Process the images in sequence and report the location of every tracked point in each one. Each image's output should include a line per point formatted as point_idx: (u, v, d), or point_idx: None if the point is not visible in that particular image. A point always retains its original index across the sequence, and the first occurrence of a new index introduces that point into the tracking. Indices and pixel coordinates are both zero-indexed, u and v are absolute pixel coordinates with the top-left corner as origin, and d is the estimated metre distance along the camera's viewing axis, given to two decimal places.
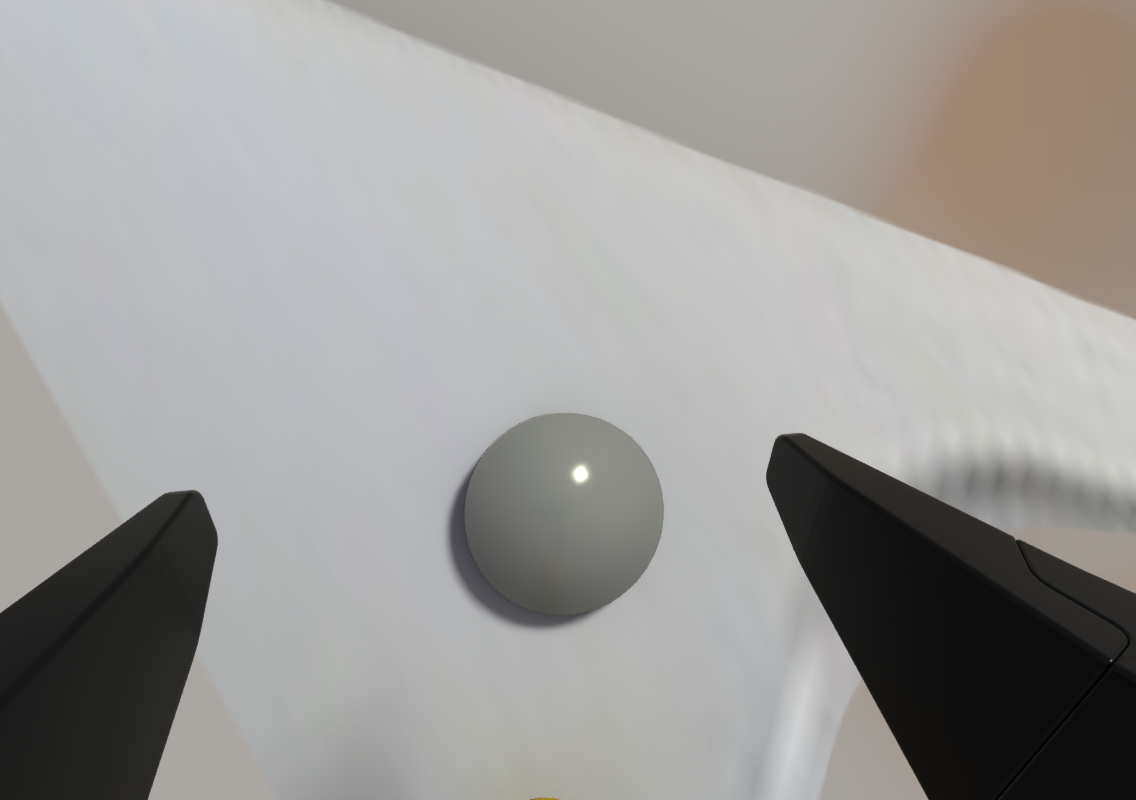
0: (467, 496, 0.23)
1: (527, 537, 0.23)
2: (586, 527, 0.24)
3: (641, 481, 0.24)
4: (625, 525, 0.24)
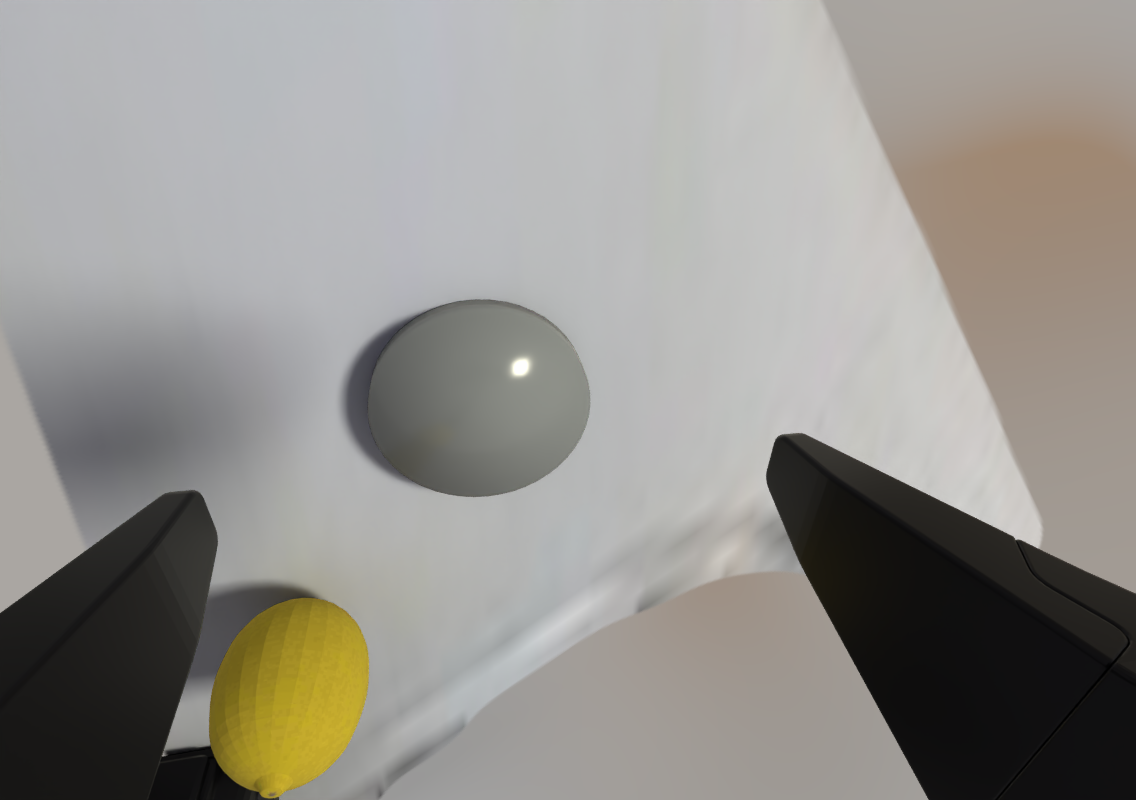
0: (393, 349, 0.20)
1: (432, 413, 0.21)
2: (493, 432, 0.22)
3: (569, 420, 0.23)
4: (530, 447, 0.23)
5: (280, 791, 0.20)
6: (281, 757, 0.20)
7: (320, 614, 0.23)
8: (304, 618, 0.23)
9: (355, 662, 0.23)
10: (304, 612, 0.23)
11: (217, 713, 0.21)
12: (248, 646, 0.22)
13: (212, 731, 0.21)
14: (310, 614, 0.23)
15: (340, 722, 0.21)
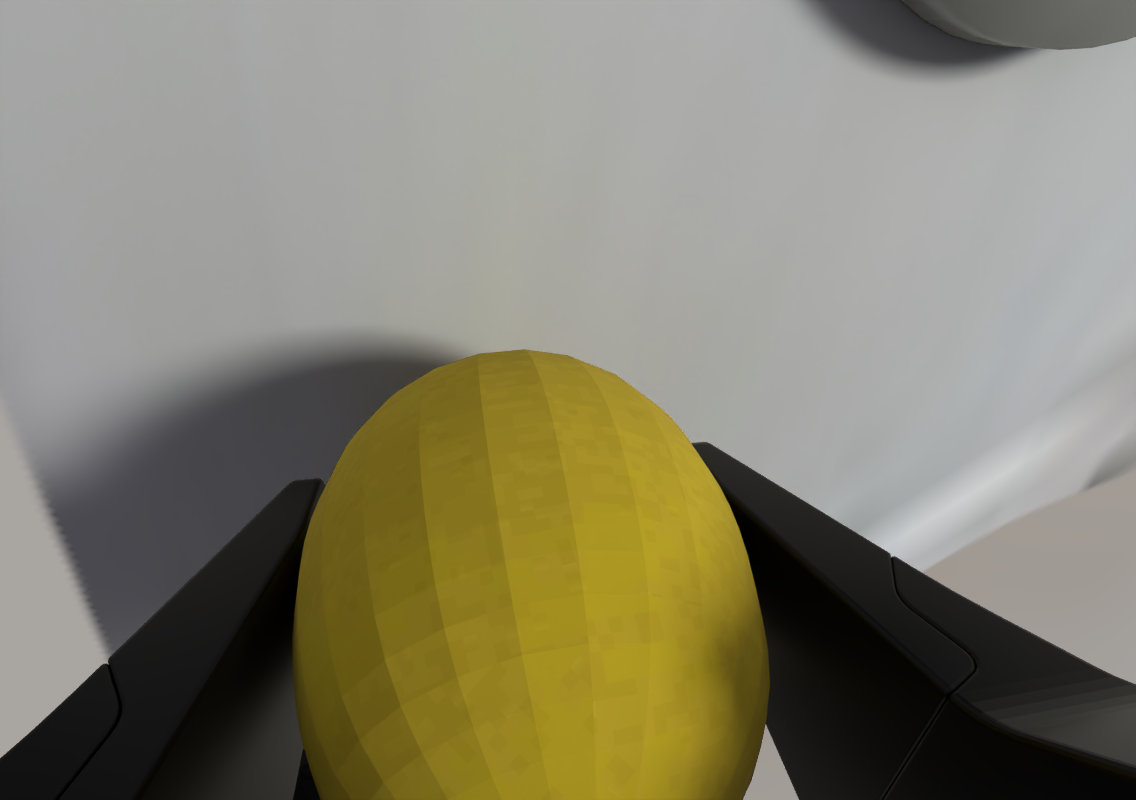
0: None
1: None
2: None
3: None
4: None
5: None
6: None
7: (602, 371, 0.08)
8: (571, 367, 0.07)
9: None
10: (561, 359, 0.08)
11: (343, 638, 0.05)
12: (422, 420, 0.06)
13: (318, 708, 0.05)
14: (580, 364, 0.08)
15: (766, 679, 0.06)
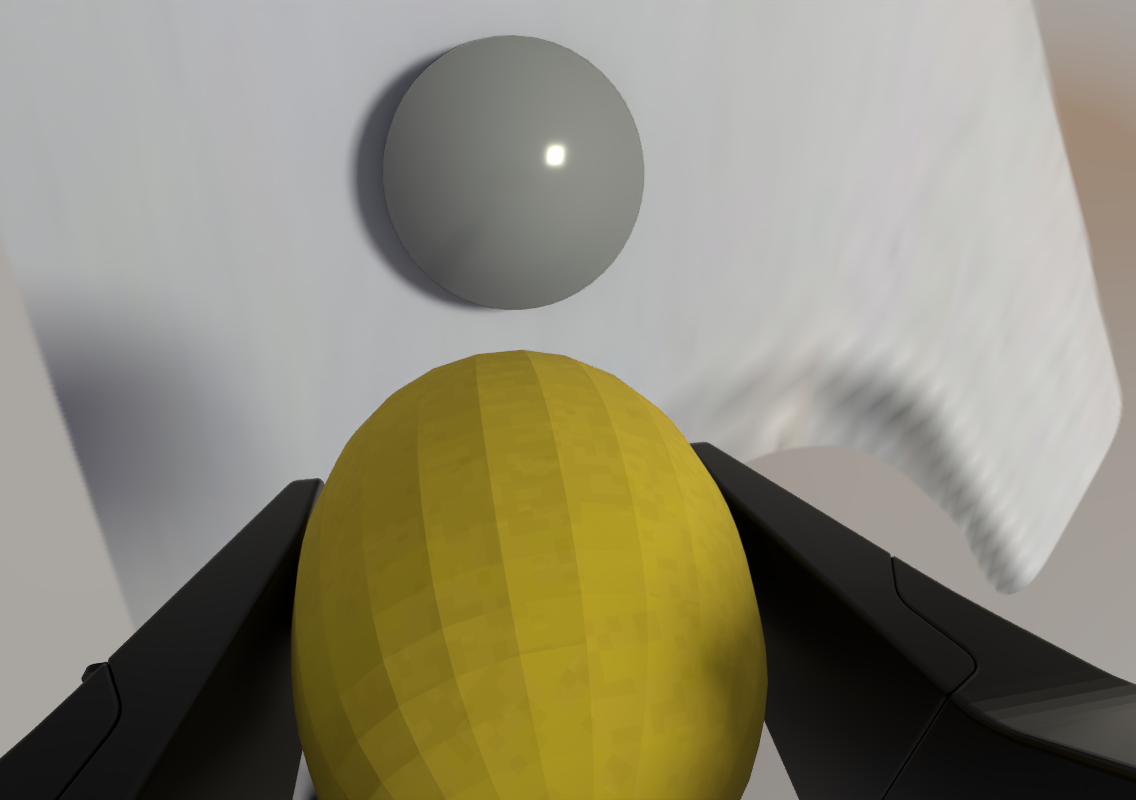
0: (414, 84, 0.16)
1: (459, 185, 0.18)
2: (530, 217, 0.19)
3: (619, 207, 0.19)
4: (572, 242, 0.20)
5: None
6: None
7: (600, 371, 0.08)
8: (568, 367, 0.07)
9: None
10: (559, 359, 0.08)
11: (340, 638, 0.05)
12: (420, 421, 0.06)
13: (317, 708, 0.05)
14: (578, 364, 0.08)
15: (764, 679, 0.06)
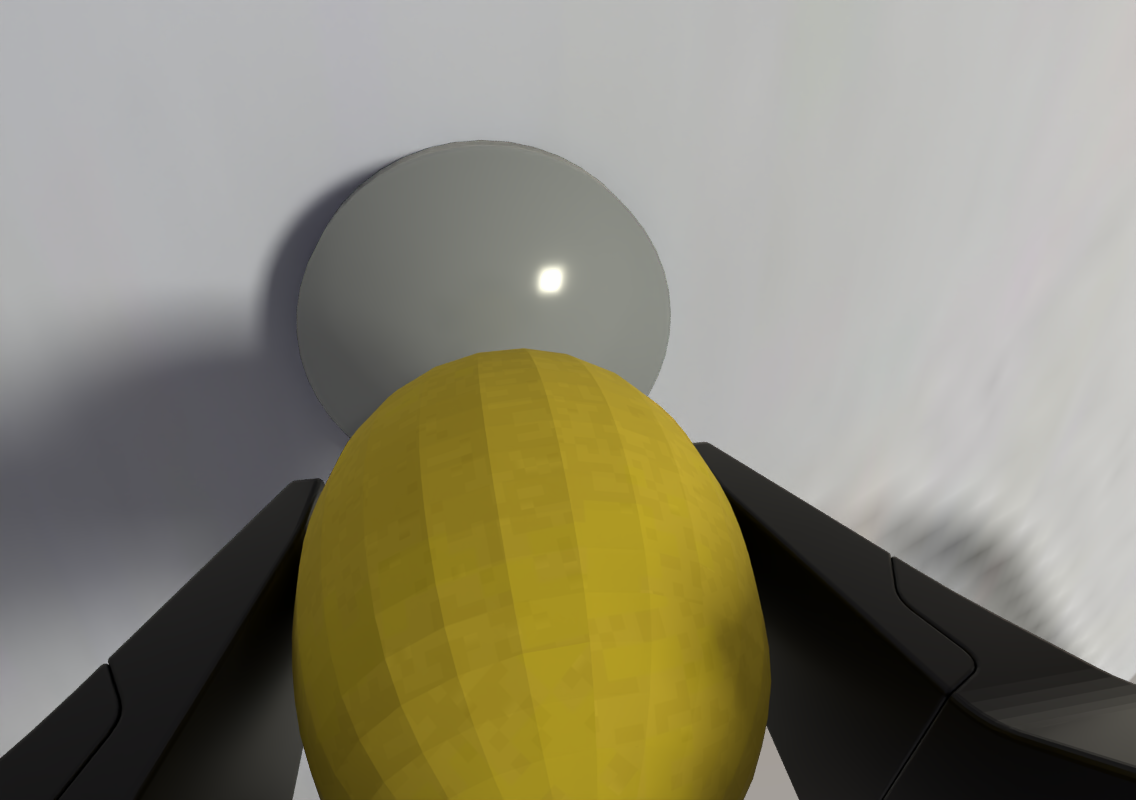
0: (336, 220, 0.11)
1: (408, 345, 0.13)
2: None
3: (634, 361, 0.14)
4: None
5: None
6: None
7: (602, 369, 0.08)
8: (571, 365, 0.07)
9: None
10: (561, 357, 0.08)
11: (343, 637, 0.05)
12: (422, 419, 0.06)
13: (316, 708, 0.05)
14: (580, 362, 0.08)
15: (767, 677, 0.06)
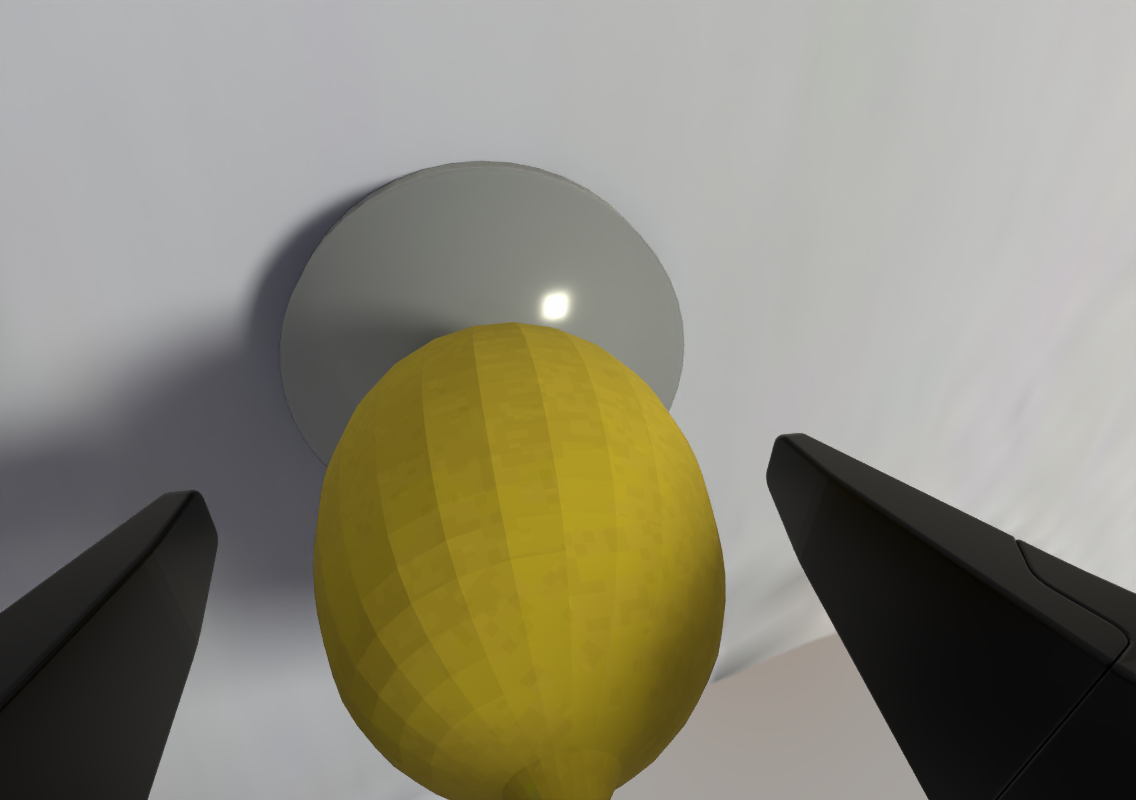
0: (321, 249, 0.10)
1: None
2: None
3: None
4: None
5: None
6: (604, 691, 0.06)
7: (583, 340, 0.09)
8: (555, 335, 0.08)
9: None
10: (547, 329, 0.09)
11: (360, 555, 0.06)
12: (425, 379, 0.07)
13: (341, 615, 0.06)
14: (564, 333, 0.09)
15: (721, 595, 0.07)
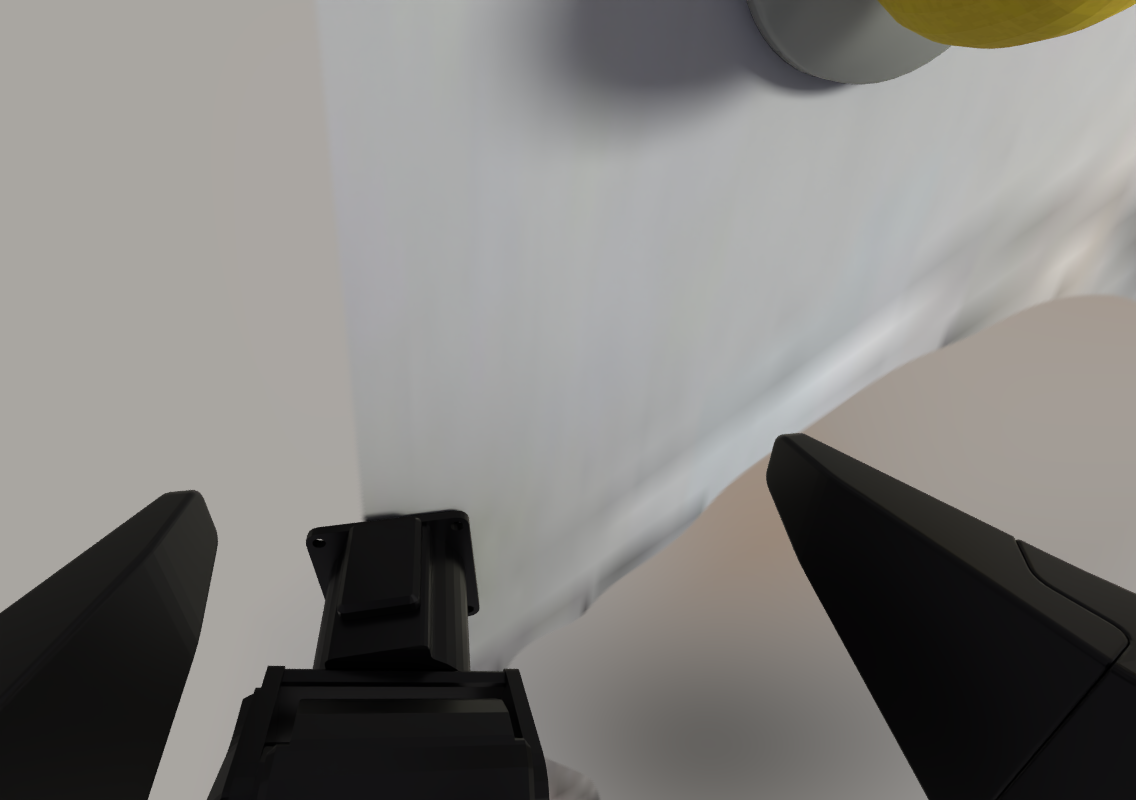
0: None
1: None
2: None
3: None
4: None
5: None
6: None
7: None
8: None
9: None
10: None
11: None
12: None
13: None
14: None
15: None
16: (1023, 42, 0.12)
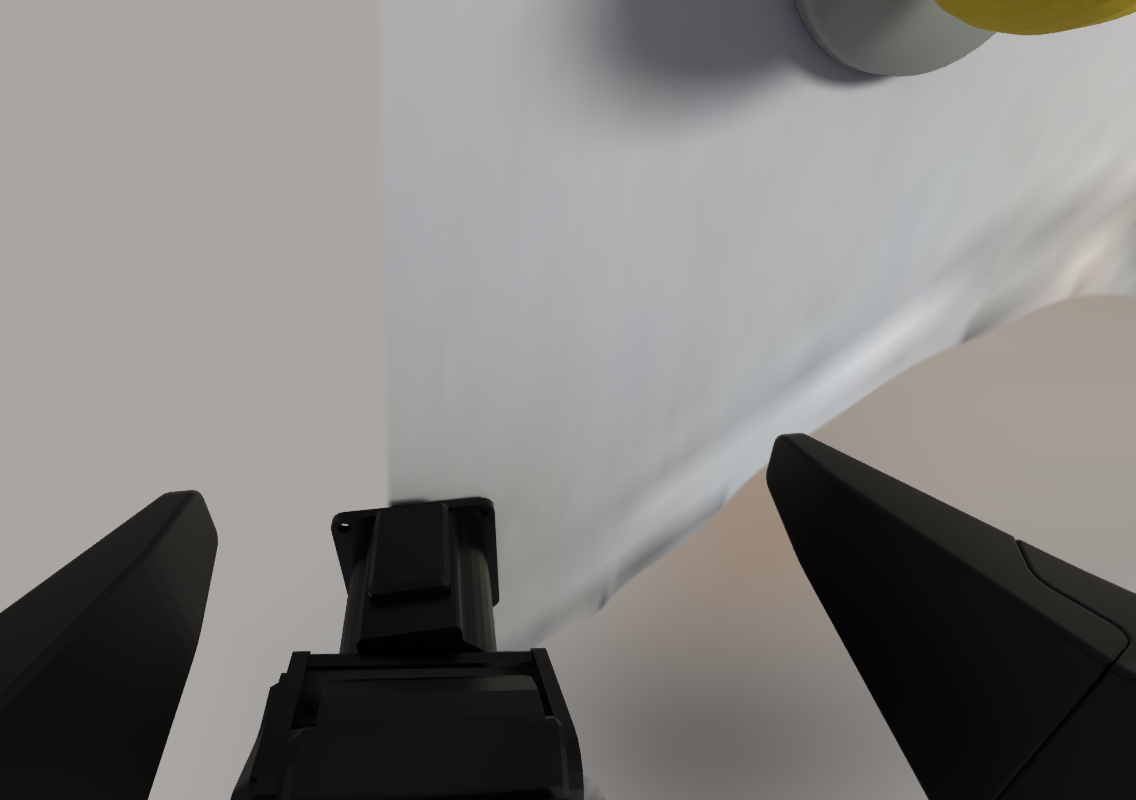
0: None
1: None
2: None
3: None
4: None
5: None
6: None
7: None
8: None
9: None
10: None
11: None
12: None
13: None
14: None
15: None
16: (1072, 26, 0.13)
